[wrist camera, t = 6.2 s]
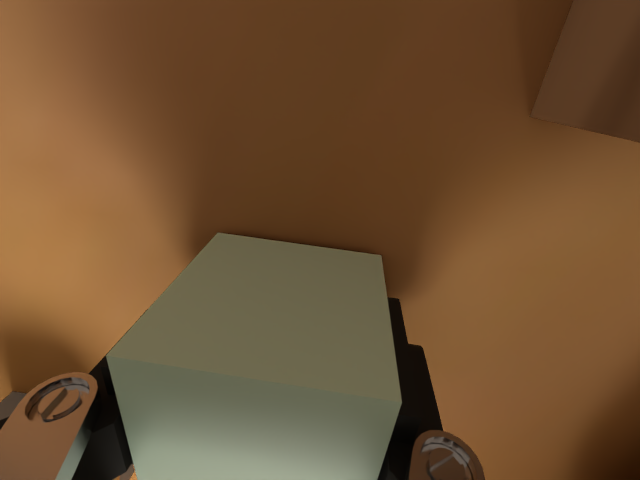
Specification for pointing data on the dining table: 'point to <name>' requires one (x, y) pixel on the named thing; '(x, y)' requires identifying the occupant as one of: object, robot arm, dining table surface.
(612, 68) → the walnut cube
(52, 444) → the robot arm
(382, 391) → the sage green cube
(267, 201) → the dining table surface
